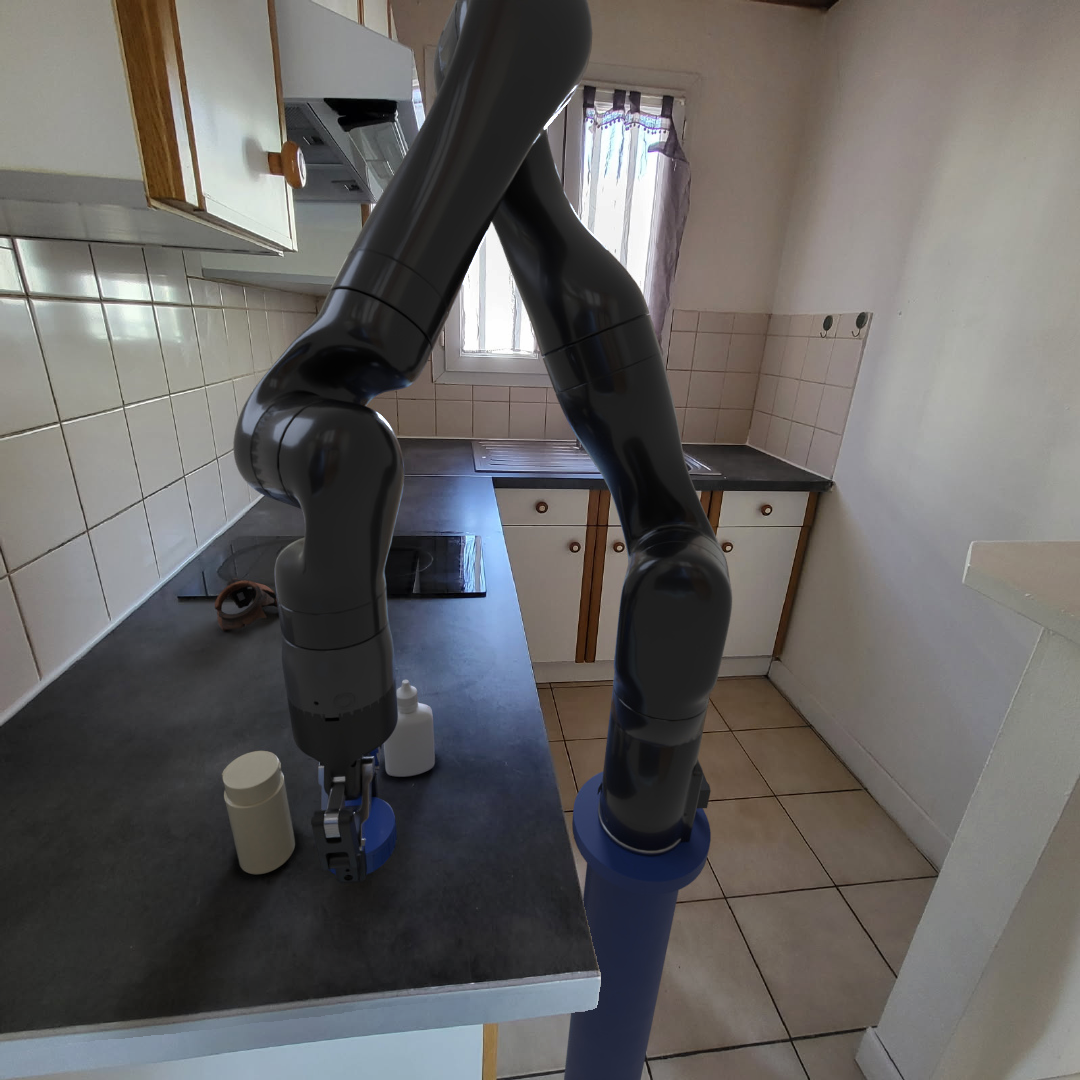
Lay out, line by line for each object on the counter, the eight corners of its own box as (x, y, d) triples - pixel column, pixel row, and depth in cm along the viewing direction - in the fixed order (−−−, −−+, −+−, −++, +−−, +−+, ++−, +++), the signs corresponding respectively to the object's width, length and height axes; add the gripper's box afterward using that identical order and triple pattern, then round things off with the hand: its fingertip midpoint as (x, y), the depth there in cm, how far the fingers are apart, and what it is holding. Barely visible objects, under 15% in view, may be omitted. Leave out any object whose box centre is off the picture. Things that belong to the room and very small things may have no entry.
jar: (300, 826, 57) (287, 746, 53) (288, 871, 53) (272, 787, 49) (248, 831, 56) (231, 751, 52) (231, 878, 52) (210, 793, 48)
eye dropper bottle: (397, 748, 68) (391, 665, 63) (440, 757, 67) (437, 674, 62) (379, 774, 64) (371, 688, 60) (424, 785, 63) (420, 698, 58)
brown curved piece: (298, 619, 95) (277, 594, 89) (249, 658, 91) (223, 634, 85) (263, 582, 101) (240, 555, 94) (215, 617, 97) (188, 591, 90)
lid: (307, 844, 47) (304, 824, 46) (371, 803, 51) (370, 784, 50) (345, 894, 43) (342, 873, 42) (411, 844, 47) (410, 825, 46)
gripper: (312, 625, 47) (331, 778, 53) (253, 751, 33) (288, 934, 40) (404, 623, 48) (412, 773, 54) (382, 744, 34) (395, 924, 41)
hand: (359, 841), depth 47 cm, fingers closed on lid, 6 cm apart
